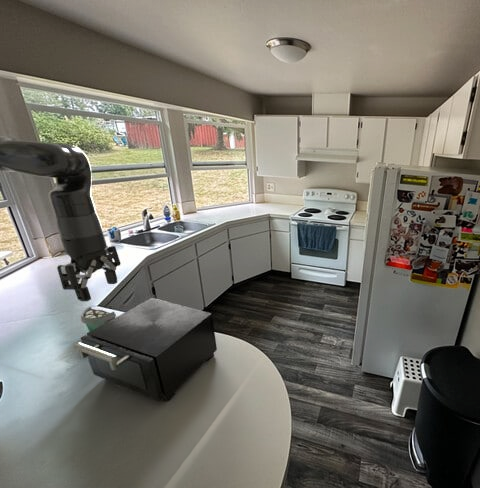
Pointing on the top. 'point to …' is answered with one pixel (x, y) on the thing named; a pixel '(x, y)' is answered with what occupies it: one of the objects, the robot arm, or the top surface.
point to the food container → (95, 318)
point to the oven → (164, 339)
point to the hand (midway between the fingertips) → (100, 291)
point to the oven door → (121, 366)
